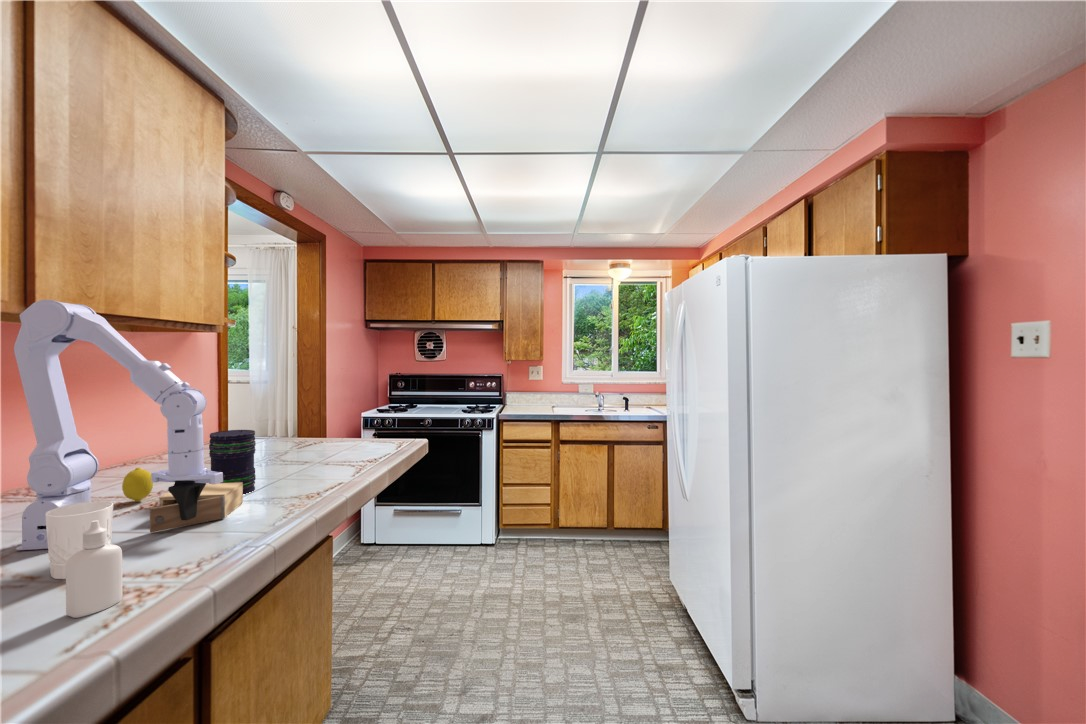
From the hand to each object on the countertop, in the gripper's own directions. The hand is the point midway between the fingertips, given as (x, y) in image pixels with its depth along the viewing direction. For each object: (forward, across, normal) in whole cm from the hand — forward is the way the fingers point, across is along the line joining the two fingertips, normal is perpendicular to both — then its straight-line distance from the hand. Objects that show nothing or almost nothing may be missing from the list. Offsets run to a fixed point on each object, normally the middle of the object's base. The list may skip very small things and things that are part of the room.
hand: (188, 518), depth 96 cm
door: (+2, +1, -1) cm, 2 cm away
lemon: (+2, +26, -12) cm, 29 cm away
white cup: (+2, +1, +19) cm, 19 cm away
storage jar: (+2, +12, -24) cm, 27 cm away
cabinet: (+2, +6, -9) cm, 11 cm away
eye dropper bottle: (+2, -14, +28) cm, 32 cm away
